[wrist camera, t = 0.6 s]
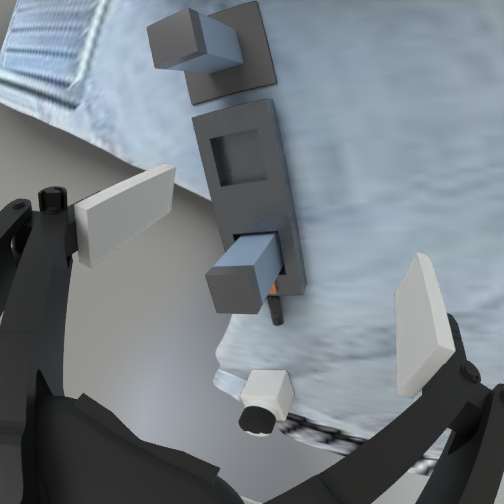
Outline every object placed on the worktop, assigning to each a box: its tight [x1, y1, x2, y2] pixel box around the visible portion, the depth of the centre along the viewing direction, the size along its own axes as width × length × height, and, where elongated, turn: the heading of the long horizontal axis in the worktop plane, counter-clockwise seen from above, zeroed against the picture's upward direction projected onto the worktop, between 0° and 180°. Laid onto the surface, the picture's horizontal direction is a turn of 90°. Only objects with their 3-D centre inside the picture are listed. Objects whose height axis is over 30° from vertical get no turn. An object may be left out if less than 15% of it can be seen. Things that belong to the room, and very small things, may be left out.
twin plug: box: [205, 231, 284, 314], centre depth 39 cm, size 5×5×12 cm
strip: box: [192, 99, 307, 326], centre depth 42 cm, size 32×10×4 cm, turn 13°
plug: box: [147, 8, 244, 74], centre depth 29 cm, size 5×5×12 cm
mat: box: [184, 0, 277, 105], centre depth 34 cm, size 12×12×1 cm
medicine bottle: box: [239, 369, 294, 437], centre depth 52 cm, size 7×7×12 cm
